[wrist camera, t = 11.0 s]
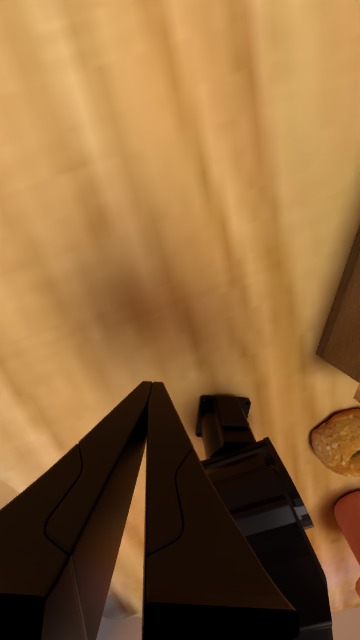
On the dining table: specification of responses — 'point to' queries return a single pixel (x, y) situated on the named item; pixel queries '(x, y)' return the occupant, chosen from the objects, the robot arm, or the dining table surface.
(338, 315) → the grey metal box
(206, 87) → the dining table surface
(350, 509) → the decorative flower
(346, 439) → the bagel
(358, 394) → the lid
